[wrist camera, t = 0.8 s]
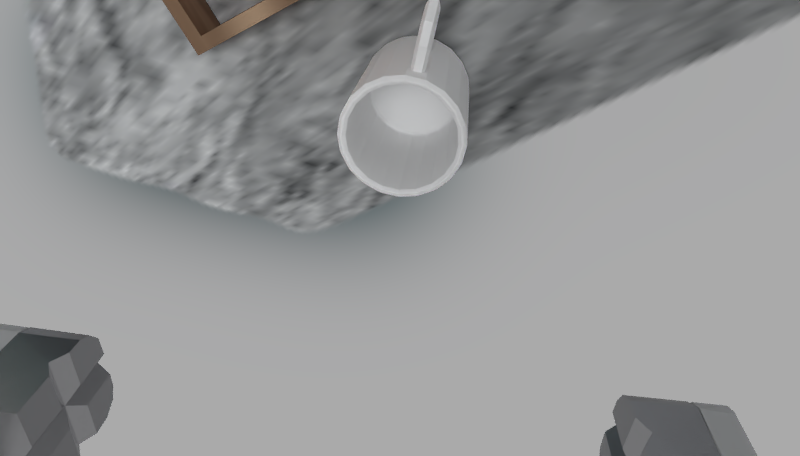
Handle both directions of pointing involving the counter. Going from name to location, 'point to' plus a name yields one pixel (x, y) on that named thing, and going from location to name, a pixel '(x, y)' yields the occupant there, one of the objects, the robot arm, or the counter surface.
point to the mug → (408, 114)
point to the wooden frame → (205, 28)
